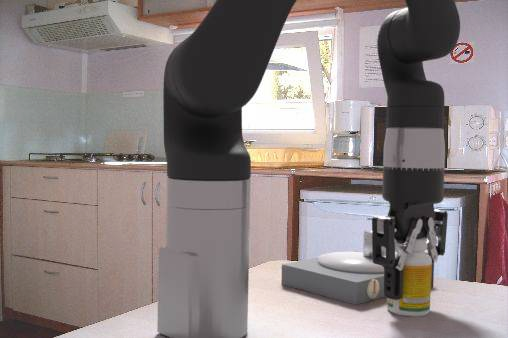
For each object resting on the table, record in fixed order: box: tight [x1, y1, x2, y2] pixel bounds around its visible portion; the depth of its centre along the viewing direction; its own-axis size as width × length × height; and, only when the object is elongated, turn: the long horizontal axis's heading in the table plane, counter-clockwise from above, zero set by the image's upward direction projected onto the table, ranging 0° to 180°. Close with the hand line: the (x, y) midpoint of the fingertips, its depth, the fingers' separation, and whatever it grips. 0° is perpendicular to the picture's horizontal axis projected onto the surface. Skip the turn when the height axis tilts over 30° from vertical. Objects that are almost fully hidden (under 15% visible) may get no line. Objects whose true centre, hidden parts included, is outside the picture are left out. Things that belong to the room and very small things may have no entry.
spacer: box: [362, 229, 385, 259], centre depth 91 cm, size 4×4×4 cm
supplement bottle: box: [386, 237, 432, 318], centre depth 74 cm, size 5×5×10 cm
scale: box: [281, 250, 386, 306], centre depth 87 cm, size 18×14×4 cm
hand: (409, 293), depth 74 cm, fingers open, 6 cm apart
